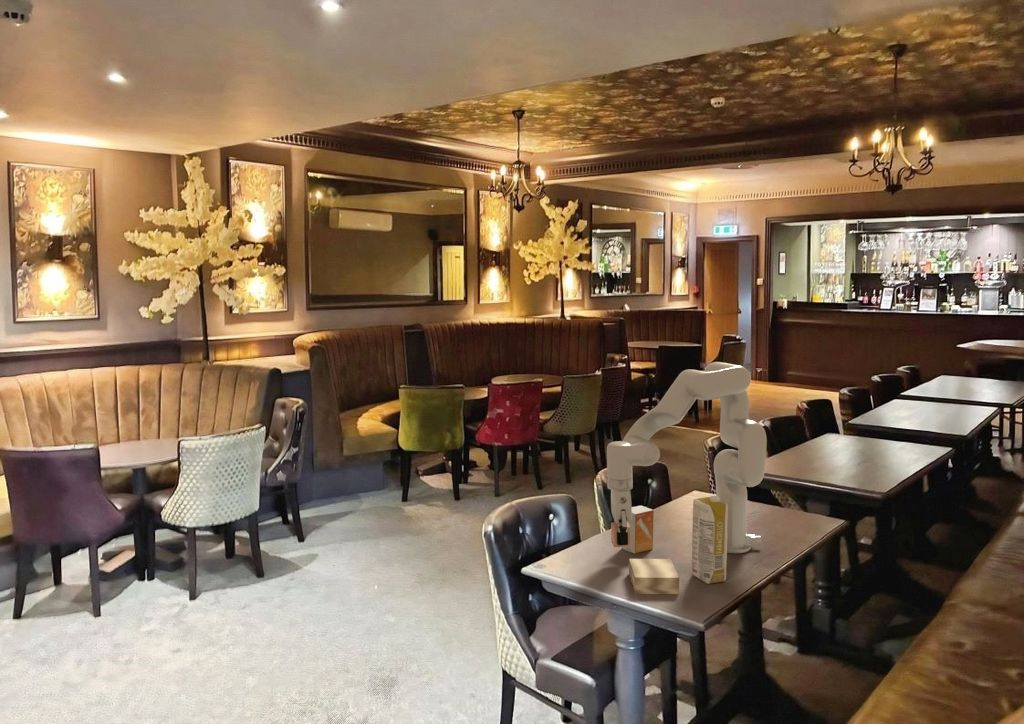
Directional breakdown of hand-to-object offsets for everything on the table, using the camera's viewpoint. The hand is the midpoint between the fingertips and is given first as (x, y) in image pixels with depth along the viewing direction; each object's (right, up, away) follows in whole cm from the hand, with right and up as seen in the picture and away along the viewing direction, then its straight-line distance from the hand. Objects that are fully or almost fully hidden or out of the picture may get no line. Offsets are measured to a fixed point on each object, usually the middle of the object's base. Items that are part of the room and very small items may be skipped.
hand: (620, 540), depth 230 cm
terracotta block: (0, -1, 0) cm, 1 cm away
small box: (+7, -6, +13) cm, 16 cm away
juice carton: (+24, -8, -12) cm, 28 cm away
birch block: (+7, -9, -15) cm, 19 cm away
